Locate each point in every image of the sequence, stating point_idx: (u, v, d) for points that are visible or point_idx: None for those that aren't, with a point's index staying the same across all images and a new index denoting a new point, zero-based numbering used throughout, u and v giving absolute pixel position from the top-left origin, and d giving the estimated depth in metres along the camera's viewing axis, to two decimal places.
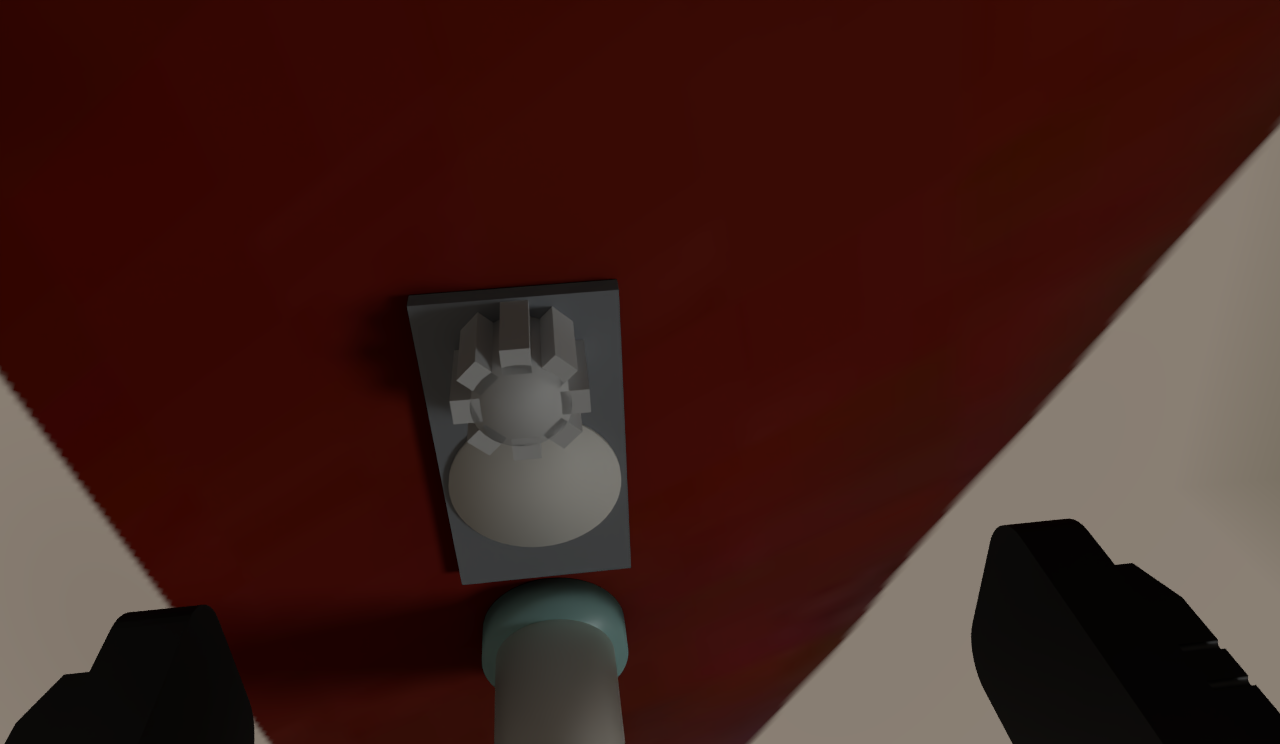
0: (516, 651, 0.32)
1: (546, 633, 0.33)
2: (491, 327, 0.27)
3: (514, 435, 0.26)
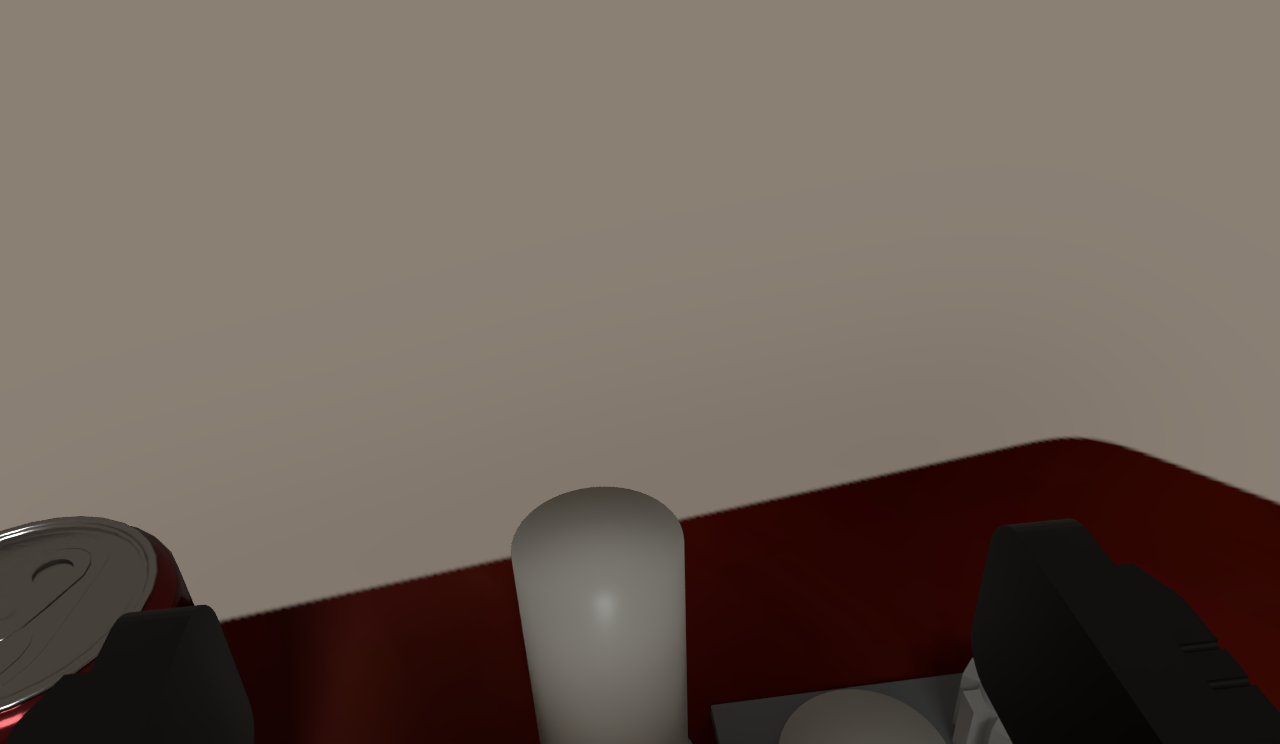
0: None
1: None
2: None
3: None
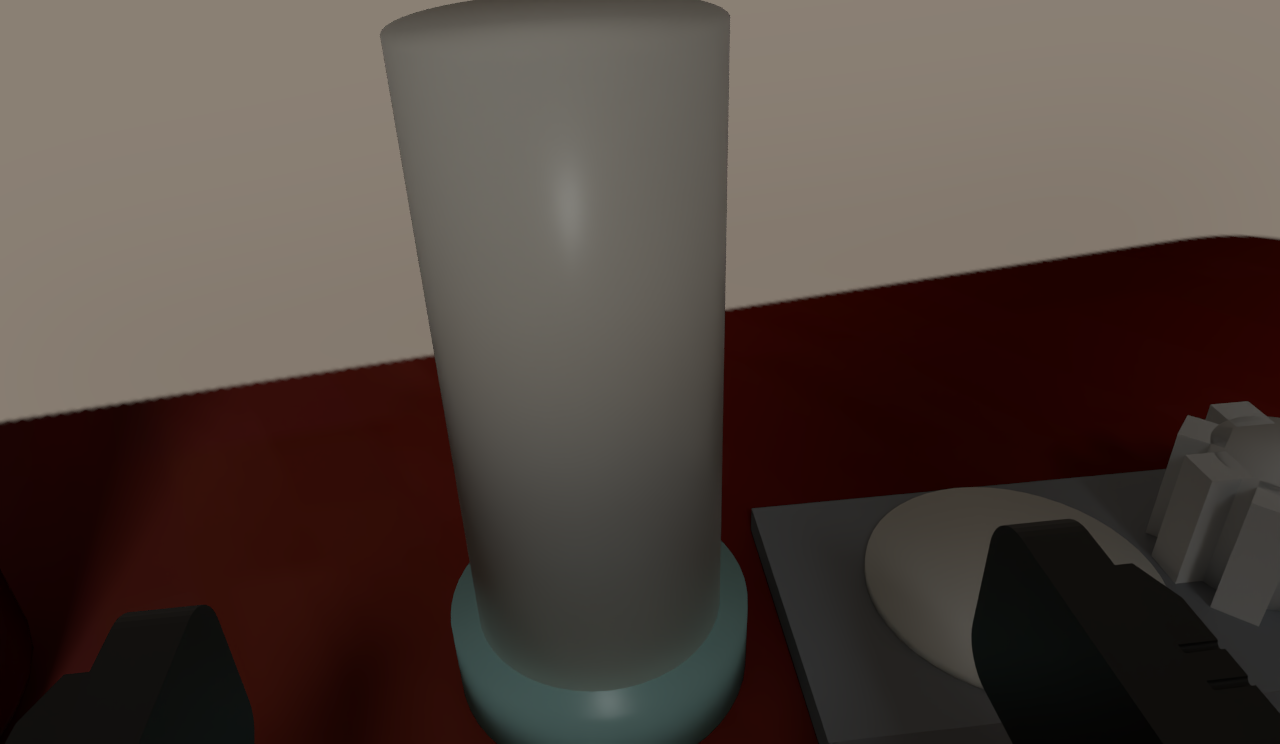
0: None
1: None
2: None
3: (1235, 454, 0.17)
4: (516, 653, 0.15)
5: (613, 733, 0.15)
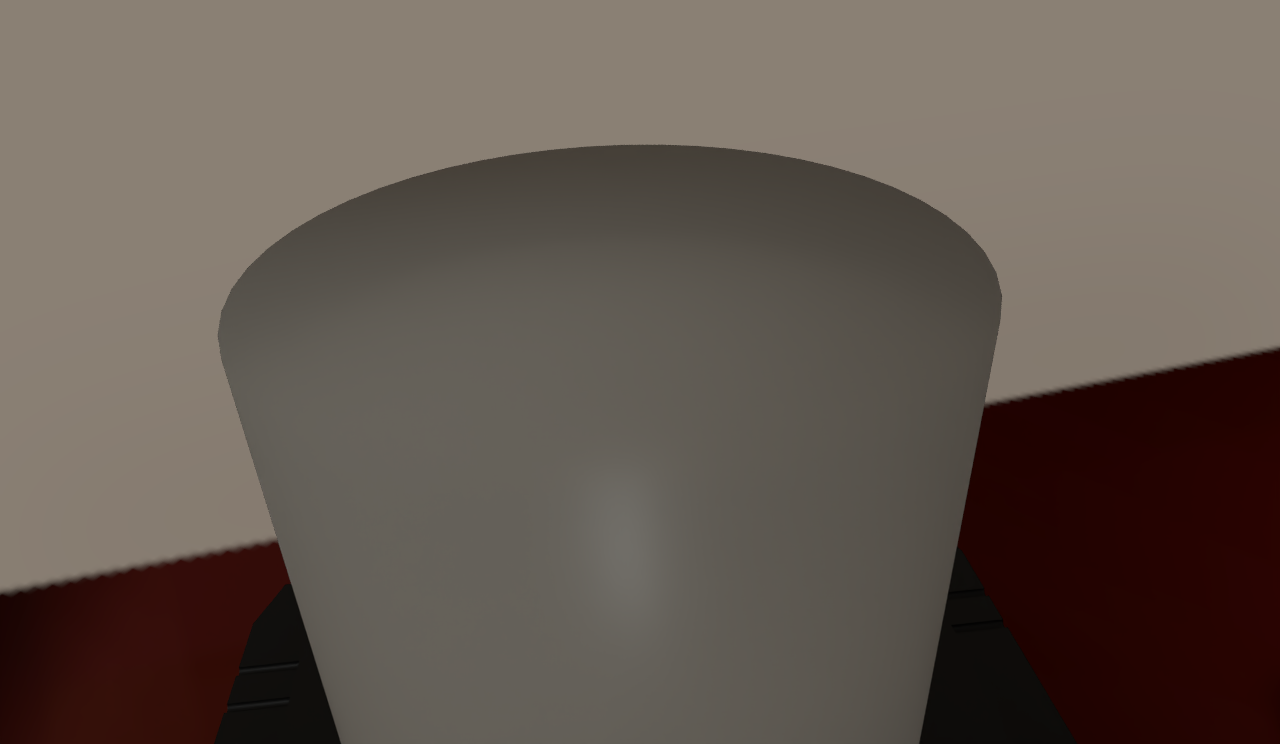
0: None
1: None
2: None
3: None
4: None
5: None
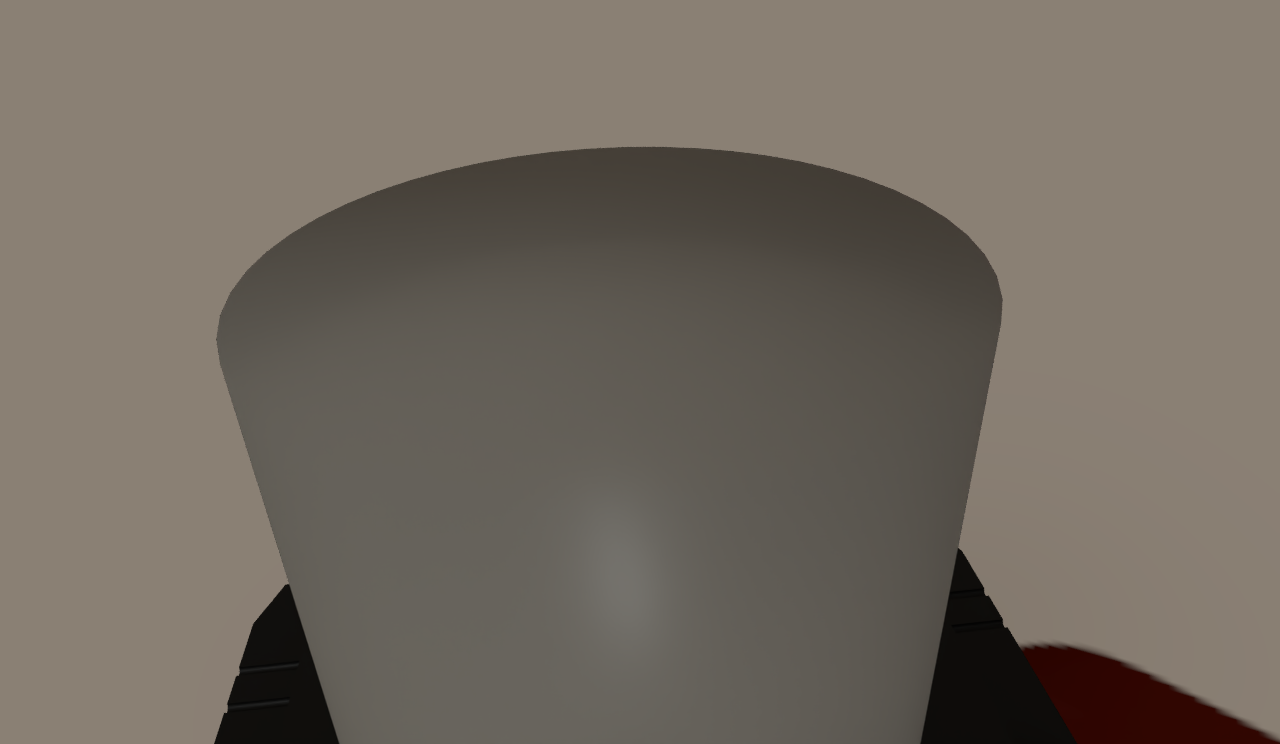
0: None
1: None
2: None
3: None
4: None
5: None
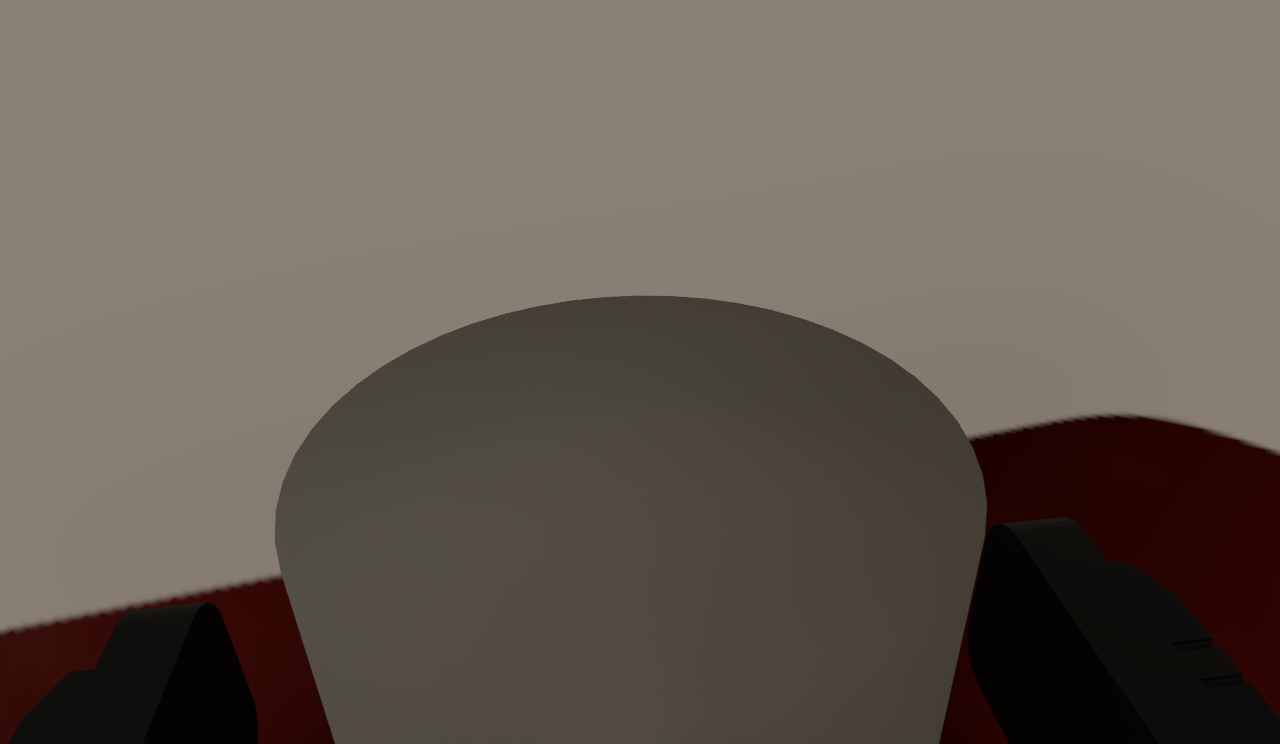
0: None
1: None
2: None
3: None
4: None
5: None
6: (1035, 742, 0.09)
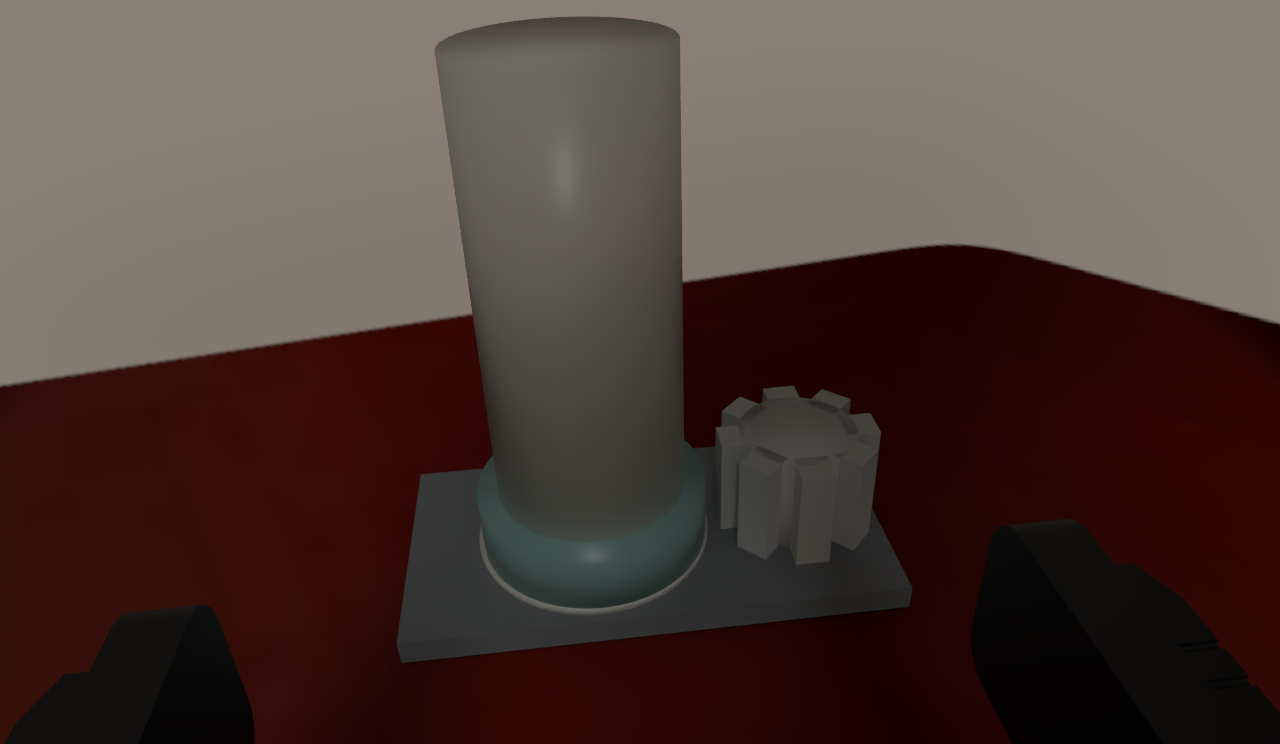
0: None
1: None
2: None
3: (754, 426, 0.22)
4: (528, 514, 0.20)
5: (601, 571, 0.20)
6: None
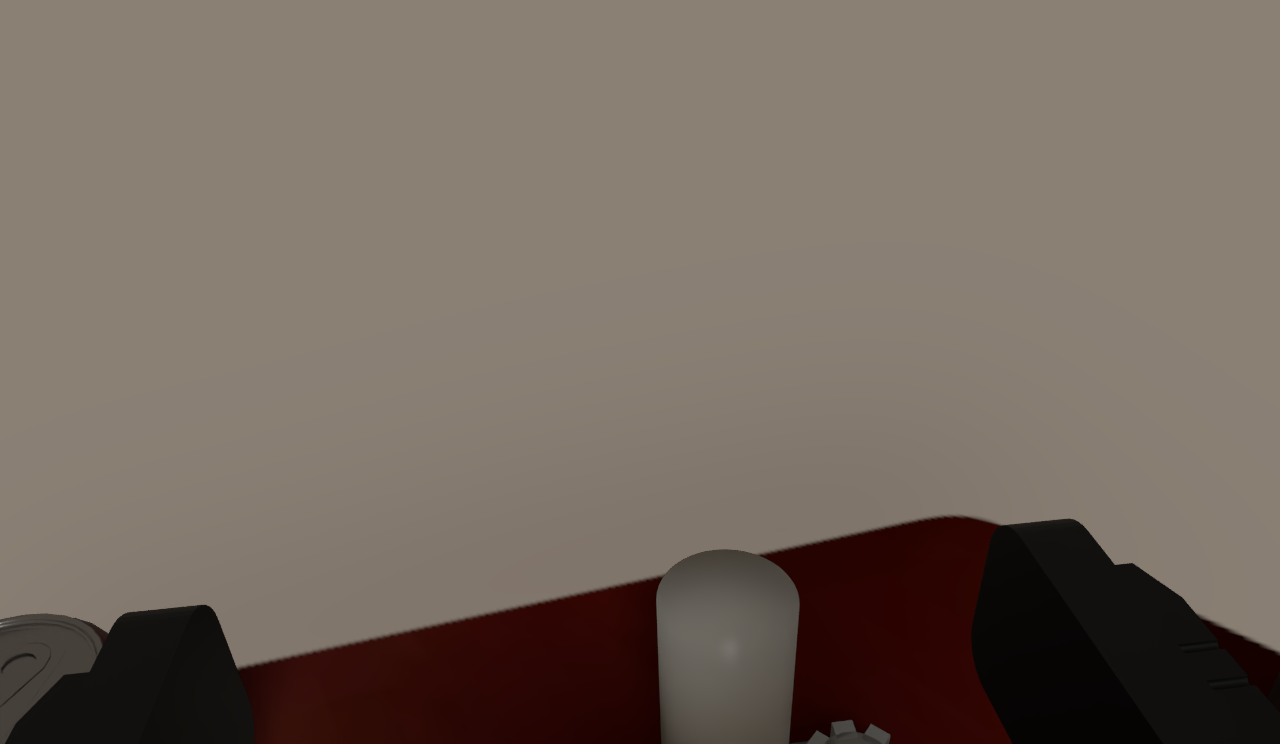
0: None
1: None
2: None
3: None
4: None
5: None
6: None
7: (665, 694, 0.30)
